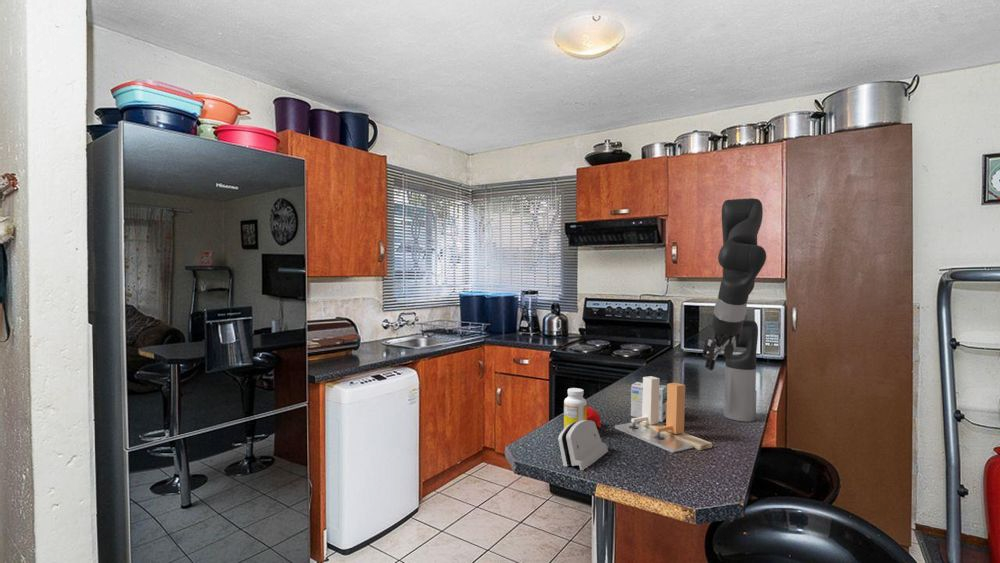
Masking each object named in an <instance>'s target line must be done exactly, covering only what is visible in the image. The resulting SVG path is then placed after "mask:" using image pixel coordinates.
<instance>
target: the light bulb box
mask: <svg viewBox="0 0 1000 563" xmlns="http://www.w3.org/2000/svg"><path fill="white" fill-rule="evenodd" d="M630 390H631V391H630V417H632V418H638V417H642V399H643V382H640V381H636V382H634V383H632V384H631V388H630ZM666 415H667V385H662V384H661V385H660V386H659V423H663V421H665V420H666Z"/></svg>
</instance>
